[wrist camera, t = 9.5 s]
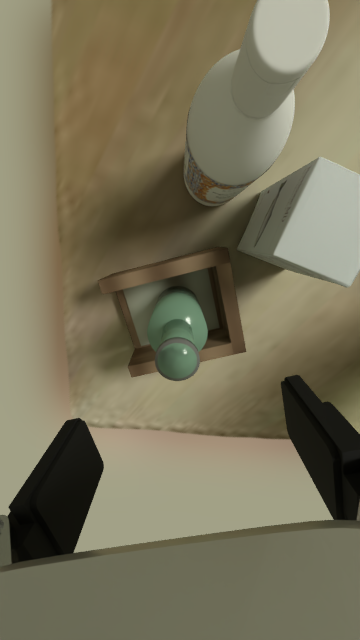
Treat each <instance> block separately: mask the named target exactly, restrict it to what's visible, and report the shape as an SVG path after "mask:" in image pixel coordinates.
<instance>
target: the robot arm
mask: <svg viewBox="0 0 360 640" xmlns="http://www.w3.org/2000/svg"><path fill="white" fill-rule="evenodd" d="M284 380H285V381H282V382H281V388H282V395H283V403H284V410H285V417H286V424H287V431H288V434H289V437H290V439H291V441H292V443H293V444H294V446H295V448H296V450H297V452H298V454H299V456H300V458H301V459H302V461H303V463H304V465H305V467H306V469H307V471H308V472H309V474H310V476H311V478H312V480H313V482H314V484H315V485H316V487H317V489H318V491H319V493H320V495H321V497H322V499H323V501H324V502H325V504H326V506H327V508H328V510H329V512H330V514H331V515H332V517H333V519H334V520H324V521H309V522H301V523H291V524H282V525H274V526H265V527H257V528H250V529H242V530H235V531H228V532H220V533H212V534H205V535H197V536H191V537H183V538H176V539H169V540H162V541H154V542H147V543H140V544H133V545H126V546H119V547H112V548H105V549H99V550H92V551H86V552H78V553H73V552H74V549H75V547H76V544H77V541H78V539H79V536H80V533H81V530H82V528H83V525H84V522H85V519H86V516H87V514H88V511H89V508H90V505H91V502H92V500H93V497H94V494H95V492H96V489H97V486H98V483H99V480H100V478H101V475H102V472H103V468H104V465H103V461H102V458H101V457H100V454H99V452H98V449H97V447H96V445H95V443H94V441H93V438H92V436H91V434H90V432H89V429H88V427H87V425H86V423H85V421H83V420H81V419H80V418H76V419H72V420H67V421H66V422H65V423H64V425H63V426H62V428H61V430H60V431H59V432H58V434H57V435H56V437H55V438H54V440H53V442H52V443H51V445H50V446H49V447H48V449H47V450H46V452H45V453H44V455H43V456H42V458H41V459H40V461H39V463H38V464H37V465H36V467H35V468H34V470H33V471H32V473H31V474H30V476H29V477H28V479H27V480H26V482H25V483H24V485H23V486H22V488H21V489H20V491H19V492H18V494H17V495H16V497H15V498H14V500H13V501H12V503H11V504H10V506H9V509H10V511H11V512H10V513H9V515H8V516H5V515H0V640H360V434H359V433H358V432H357V431H356V430H355V429H354V428H353V427H352V425H351V424H350V423H349V422H348V421H347V420H346V419H345V418H344V417H343V416H342V414H341V413H340V412H339V411H338V410H337V409H336V408H335V407H334V406H333V405H332V404H331V403H330V402H324V403H322V402H321V401H320V399H319V398H318V397H317V396H316V395H315V394H314V392H313V391H312V390H311V389H310V388H309V386H308V385H307V384H306V383H305V382H304V381H303V379H302V378H301V377H300V376H299V375H294V376H289V377H285V379H284Z"/></svg>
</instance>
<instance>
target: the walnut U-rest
mask: <svg viewBox="0 0 360 640" xmlns="http://www.w3.org/2000/svg"><path fill="white" fill-rule="evenodd" d="M98 284H99V287H100V289H101V292H102V294H106V293H110V292H114V291H116V294H117V297H118V300H119V303H120V306H121V309H122V312H123V315H124V318H125V321H126V324H127V327H128V330H129V333H130V335H131V338H132V341H133V344H134V347H135V350H134V353H133V355H132V358H131V360H130V363H129V365H128V369H129V371H130V374H131V377H136V376H140V375H145V374H149V373H154V372H158V370H157V369H156V366H155V355H156V352H155V351H154V349H153V348H152V347H151V345H150V343H149V340H148V336H147V328H148V324H149V321H150V319H151V316H152V313H153V310H154V307H155V305H156V302H157V299H158V297H159V295H160V294H161V293H162V292H163V291H164V290H165V289H167V288H169V287H172V286H183V287H186V288H188V289H190V290H191V291H192V292H193V293H194V294H195V295H196V297H197V299H198V302H199V304H200V307H201V310H202V313H203V316H204V319H205V322H206V325H207V330H208V335H207V340H206V343H205V345H204V346H203V348H202V349H201V350H200V351H199V357H200V362H203V361H207V360H211V359H216V358H220V357H225V356H229V355H234V354H238V353H243V352H246V348H245V342H244V336H243V331H242V325H241V320H240V314H239V308H238V303H237V297H236V291H235V286H234V280H233V275H232V269H231V263H230V258H229V252H228V248H226V247H215V248H211V249H207V250H204V251H200V252H196V253H192V254H188V255H184V256H180V257H176V258H172V259H168V260H165V261H161V262H157V263H153V264H149V265H145V266H141V267H137V268H133V269H129V270H126V271H122V272H118V273H114V274H111V275H109V276H107V277H105V278H103V279H100V280H98Z"/></svg>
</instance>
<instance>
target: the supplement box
mask: <svg viewBox="0 0 360 640" xmlns="http://www.w3.org/2000/svg"><path fill="white" fill-rule="evenodd" d="M237 250H238V251H241V252H243V253H246V254H248V255H251V256H253V257H256V258H258V259H261V260H263V261H266V262H268V263H271V264H273V265H276V266H279V267H281V268H284V269H286V270H290V271H293V272H296V273H300V274H303V275H307V276H310V277H314V278H318V279H322V280H325V281H329V282H332V283H336V284H339V285H341V286H344V287H349V286H351V284H352V283H353V281H354V279H355V278H356V276H357V274H358V273H359V271H360V175H359V174H357V173H355V172H353V171H351V170H349V169H347V168H344V167H342V166H340V165H338V164H336V163H334V162H332V161H329V160H327V159H325V158H322V157H318V158H317V159H315V160H314V161H312V162H310V163H309V164H307V165H305V166H304V167H302V168H300V169H299V170H297V171H295V172H293V173H292V174H290V175H288V176H287V177H285V178H283V179H282V180H280V181H278V182H276V183H275V184H273V185H271V186H270V187H268V188H266V189H265V190H263V191H261V194H260V196H259V199H258V202H257V204H256V207H255V209H254V212H253V214H252V216H251V219H250V221H249V223H248V226H247V228H246V230H245V232H244V235H243V237H242V239H241V241H240V243H239V245H238V247H237Z"/></svg>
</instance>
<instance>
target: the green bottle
mask: <svg viewBox="0 0 360 640" xmlns="http://www.w3.org/2000/svg"><path fill="white" fill-rule="evenodd" d="M207 335H208V330H207V325H206V322H205V319H204V316H203V313H202V310H201V307H200V304H199V302H198V299H197V297H196V295H195V294H194V293H193V292H192V291H191V290H190V289H188V288H186V287H183V286H172V287H169V288H167V289H165V290H164V291H163V292H162V293H161V294H160V295H159V297H158V299H157V302H156V305H155V307H154V310H153V313H152V316H151V319H150V321H149V324H148V328H147V336H148V340H149V343H150V345H151V347H152V348H153V349H154V351H155V352H156V355H155V366H156V369H157V370H158V372H159V373H160V374H161V375H162V376H163V377H165V378H167V379H169V380H173V381H182V380H186V379H188V378H190V377H191V376H193V375H194V374H195V373H196V371H197V370H198V367H199V364H200V357H199V351H200V350H201V349H202V348H203V346H204V345H205V343H206V340H207Z"/></svg>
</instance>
